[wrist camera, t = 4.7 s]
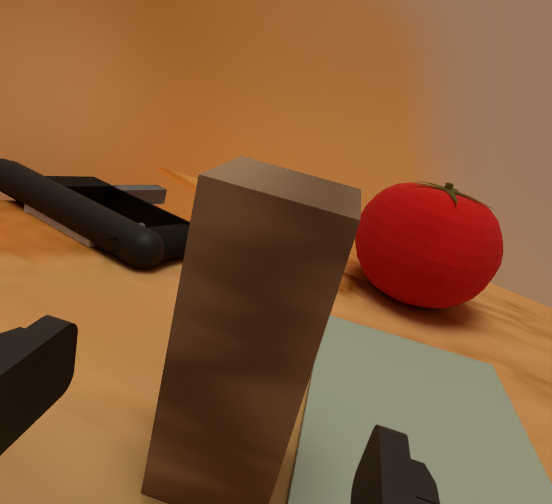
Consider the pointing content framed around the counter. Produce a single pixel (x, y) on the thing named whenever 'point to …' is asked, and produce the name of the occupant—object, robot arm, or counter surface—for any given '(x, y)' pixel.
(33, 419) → the robot arm
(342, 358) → the mat
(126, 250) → the door handle
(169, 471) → the walnut block
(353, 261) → the counter surface
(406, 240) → the tomato
